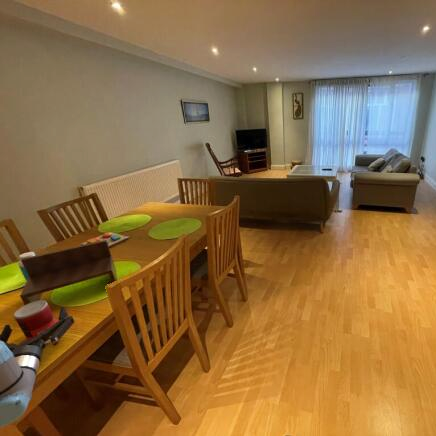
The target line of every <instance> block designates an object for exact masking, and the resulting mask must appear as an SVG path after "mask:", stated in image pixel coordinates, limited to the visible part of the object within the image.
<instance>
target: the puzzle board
mask: <svg viewBox="0 0 436 436" xmlns="http://www.w3.org/2000/svg"><path fill="white" fill-rule="evenodd" d="M128 239H130V236H129V235H127V236H126V235H122V234H120V233H117V232H116V233H115V232H112V231H109V232H105V233H102V235H99V236H97V237H92V238H90V239H87V240H86V241H84V242H82V243H80V246H81V245H86V244H90V243H95V242H99V241H104V240H106V241H107V244H108V247H109V248H111V247H112V246H115V245H117V244H119V243H121V242H123V241H126V240H128Z"/></svg>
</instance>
